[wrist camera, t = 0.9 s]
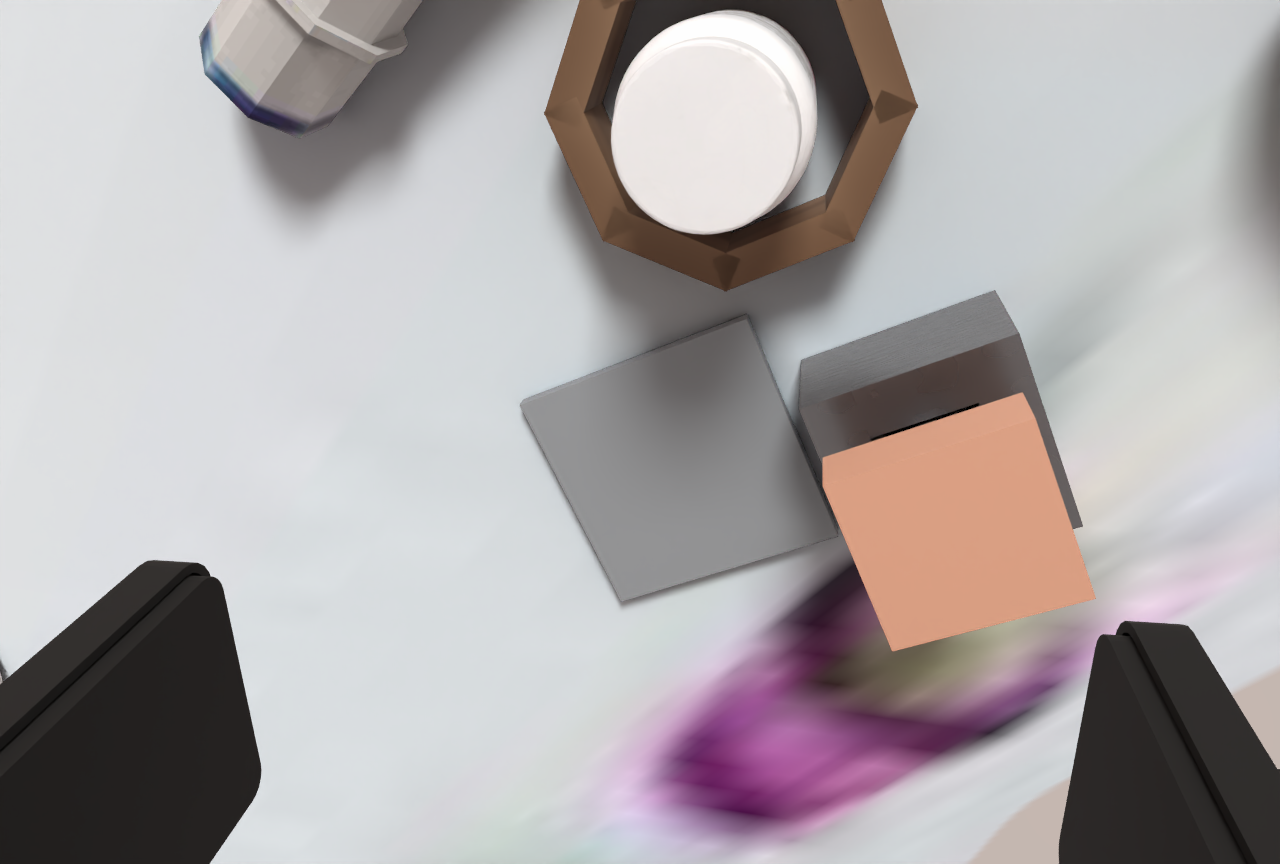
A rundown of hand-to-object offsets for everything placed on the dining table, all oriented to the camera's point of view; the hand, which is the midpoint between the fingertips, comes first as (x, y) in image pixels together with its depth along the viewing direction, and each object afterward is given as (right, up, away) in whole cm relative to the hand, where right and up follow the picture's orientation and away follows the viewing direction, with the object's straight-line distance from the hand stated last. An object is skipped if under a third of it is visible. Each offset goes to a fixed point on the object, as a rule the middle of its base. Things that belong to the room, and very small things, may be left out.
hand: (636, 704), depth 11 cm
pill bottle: (+3, +12, +18) cm, 22 cm away
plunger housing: (+9, +4, +21) cm, 23 cm away
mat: (+1, +2, +23) cm, 23 cm away
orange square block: (+8, +2, +18) cm, 20 cm away
